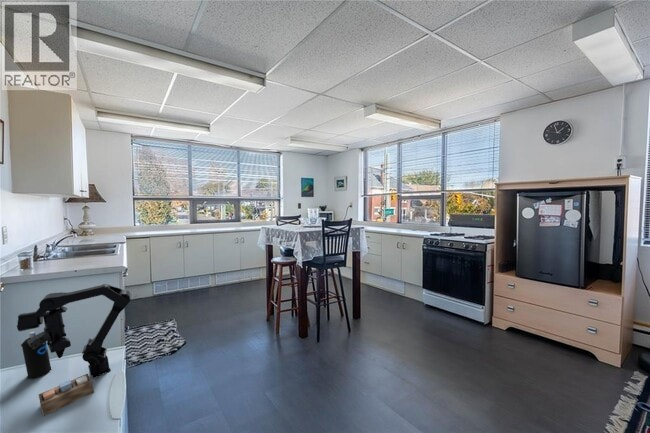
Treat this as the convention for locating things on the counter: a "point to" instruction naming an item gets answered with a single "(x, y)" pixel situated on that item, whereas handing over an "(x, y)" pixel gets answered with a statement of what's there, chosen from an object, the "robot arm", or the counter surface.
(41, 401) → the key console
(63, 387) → the key blue
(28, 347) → the aerosol can
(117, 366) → the counter surface
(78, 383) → the key cream
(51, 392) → the key terracotta
